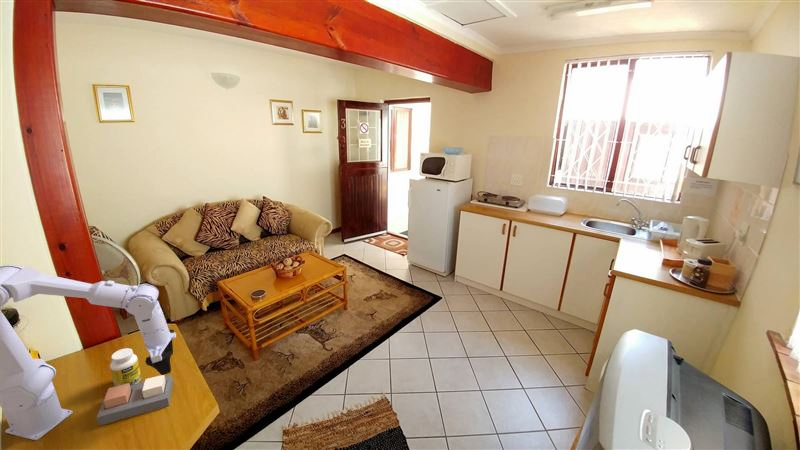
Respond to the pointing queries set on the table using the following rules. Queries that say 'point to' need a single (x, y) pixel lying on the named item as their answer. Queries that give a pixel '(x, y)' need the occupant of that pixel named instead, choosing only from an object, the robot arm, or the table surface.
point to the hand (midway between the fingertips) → (167, 363)
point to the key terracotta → (117, 396)
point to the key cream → (154, 386)
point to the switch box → (136, 403)
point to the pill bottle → (125, 367)
